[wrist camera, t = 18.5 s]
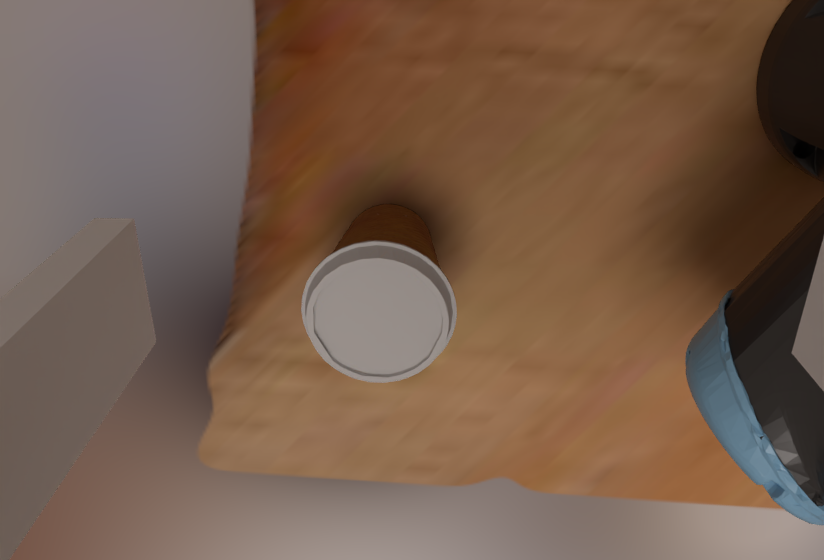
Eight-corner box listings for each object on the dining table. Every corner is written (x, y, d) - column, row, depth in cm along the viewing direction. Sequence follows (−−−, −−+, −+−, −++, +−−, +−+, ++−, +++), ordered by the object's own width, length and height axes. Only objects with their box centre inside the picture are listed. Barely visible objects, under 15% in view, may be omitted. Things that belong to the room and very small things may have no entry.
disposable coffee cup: (325, 179, 52) (295, 245, 41) (457, 186, 52) (463, 255, 41) (326, 296, 56) (299, 384, 45) (448, 303, 56) (451, 393, 45)
